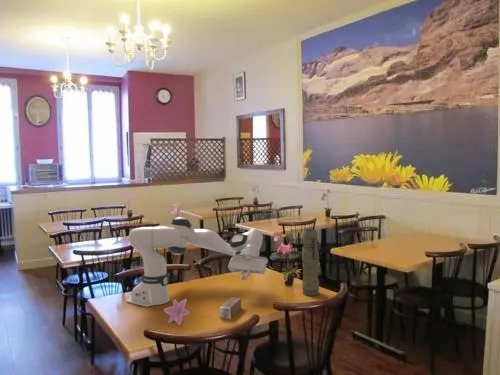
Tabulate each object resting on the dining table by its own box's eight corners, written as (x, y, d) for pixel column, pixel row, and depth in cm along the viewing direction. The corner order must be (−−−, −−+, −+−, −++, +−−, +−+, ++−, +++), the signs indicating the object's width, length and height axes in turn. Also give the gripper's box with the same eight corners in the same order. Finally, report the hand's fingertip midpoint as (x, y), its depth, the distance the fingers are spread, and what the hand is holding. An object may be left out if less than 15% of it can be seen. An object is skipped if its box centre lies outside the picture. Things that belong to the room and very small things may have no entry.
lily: (162, 320, 202) (158, 306, 197) (183, 305, 208) (179, 292, 203) (177, 335, 194) (173, 321, 189) (198, 319, 201) (194, 305, 195)
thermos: (310, 289, 241) (310, 226, 238) (324, 294, 231) (323, 229, 228) (297, 291, 237) (296, 228, 234) (310, 297, 226) (310, 231, 224)
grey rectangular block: (232, 307, 215) (219, 317, 201) (231, 297, 215) (219, 307, 201) (241, 308, 214) (229, 319, 200) (241, 298, 213) (229, 308, 199)
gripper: (270, 260, 230) (264, 283, 222) (234, 258, 237) (227, 280, 229) (267, 254, 225) (261, 277, 217) (231, 251, 232) (224, 274, 224)
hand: (243, 279), depth 223 cm, fingers closed
